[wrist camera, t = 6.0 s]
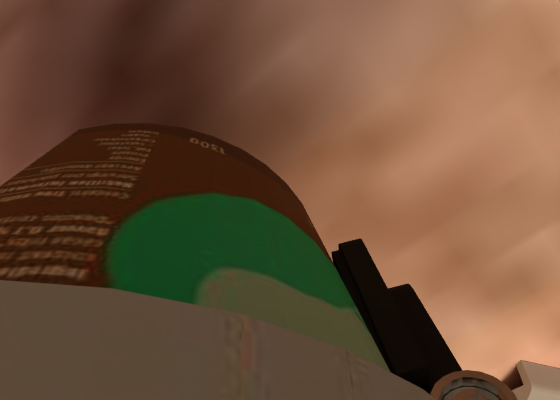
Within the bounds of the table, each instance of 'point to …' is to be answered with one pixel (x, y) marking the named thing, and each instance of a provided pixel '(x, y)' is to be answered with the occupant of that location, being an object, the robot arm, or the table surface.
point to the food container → (172, 279)
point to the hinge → (538, 382)
